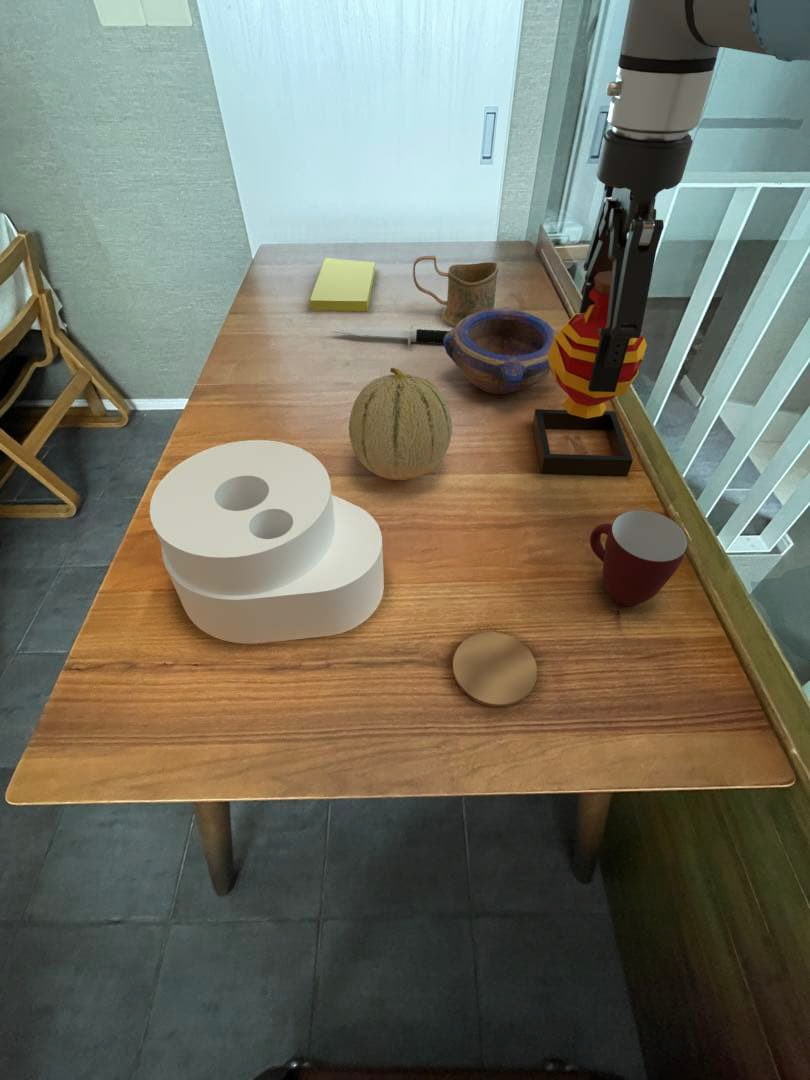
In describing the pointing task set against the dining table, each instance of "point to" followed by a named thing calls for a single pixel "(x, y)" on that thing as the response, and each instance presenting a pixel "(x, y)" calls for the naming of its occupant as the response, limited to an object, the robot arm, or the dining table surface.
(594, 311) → the potion bottle
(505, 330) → the bowl
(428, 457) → the cantaloupe
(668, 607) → the dining table surface
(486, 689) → the coaster
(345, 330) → the knife
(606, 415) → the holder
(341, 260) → the yellow flat block
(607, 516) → the dining table surface
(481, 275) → the mug
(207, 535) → the white stepped block
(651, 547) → the mug
